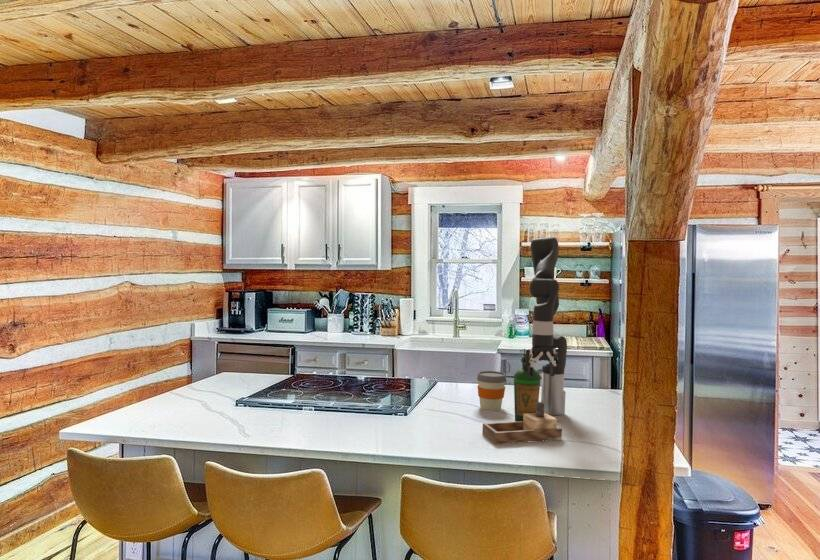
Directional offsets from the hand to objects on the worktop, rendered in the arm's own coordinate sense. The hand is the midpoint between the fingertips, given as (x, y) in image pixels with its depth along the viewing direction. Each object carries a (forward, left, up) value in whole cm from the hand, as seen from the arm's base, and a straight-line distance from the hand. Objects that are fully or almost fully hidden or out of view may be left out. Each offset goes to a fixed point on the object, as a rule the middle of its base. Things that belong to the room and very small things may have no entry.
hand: (541, 376), depth 221 cm
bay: (+7, 0, -22) cm, 23 cm away
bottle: (-3, -17, -22) cm, 28 cm away
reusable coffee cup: (+2, -41, -23) cm, 47 cm away
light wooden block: (0, 0, -21) cm, 21 cm away
